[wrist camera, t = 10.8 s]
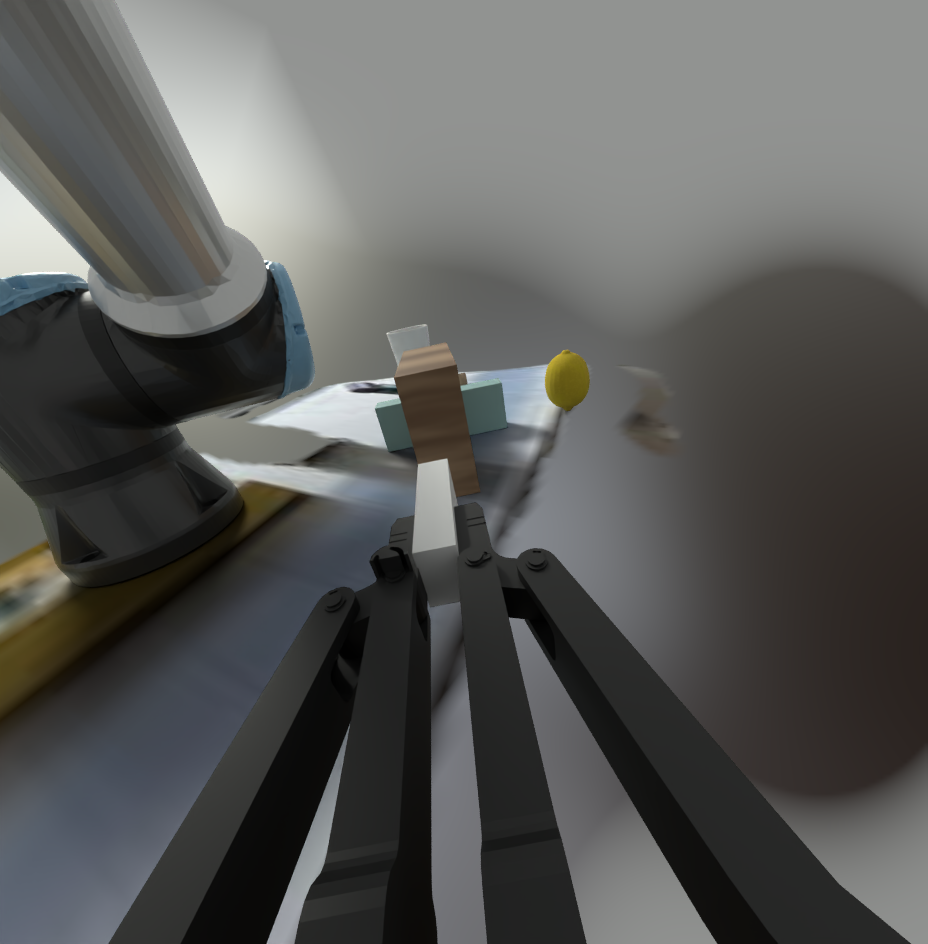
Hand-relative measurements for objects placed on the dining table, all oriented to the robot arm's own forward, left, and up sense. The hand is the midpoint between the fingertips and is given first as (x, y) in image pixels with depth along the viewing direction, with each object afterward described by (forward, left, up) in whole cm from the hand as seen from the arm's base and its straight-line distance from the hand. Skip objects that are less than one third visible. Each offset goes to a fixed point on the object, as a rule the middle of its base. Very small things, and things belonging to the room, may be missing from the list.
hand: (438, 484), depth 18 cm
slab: (+12, +15, -9) cm, 21 cm away
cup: (+33, +46, -9) cm, 57 cm away
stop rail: (+18, +21, -8) cm, 29 cm away
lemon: (+31, +11, -9) cm, 34 cm away
